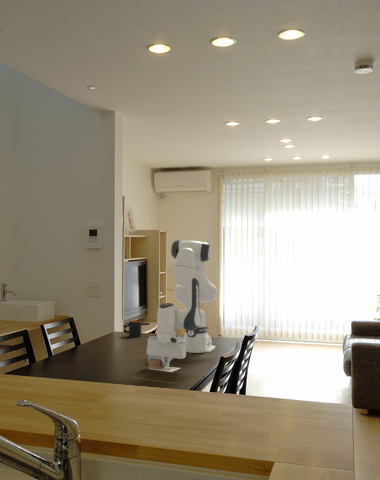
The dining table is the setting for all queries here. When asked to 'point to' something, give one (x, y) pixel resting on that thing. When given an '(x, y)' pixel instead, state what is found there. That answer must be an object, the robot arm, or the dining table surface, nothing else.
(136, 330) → the mug
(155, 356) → the cube
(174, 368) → the letter
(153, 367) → the walnut block
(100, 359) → the dining table surface
